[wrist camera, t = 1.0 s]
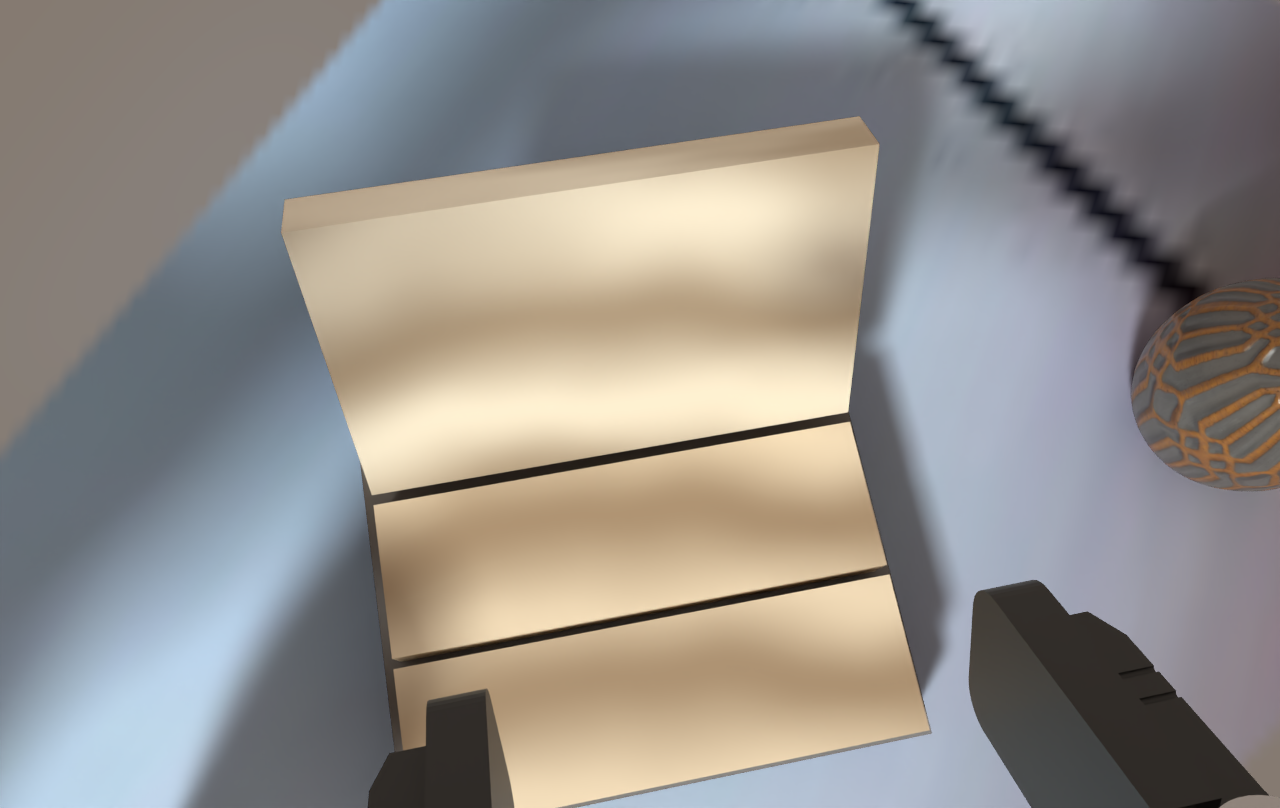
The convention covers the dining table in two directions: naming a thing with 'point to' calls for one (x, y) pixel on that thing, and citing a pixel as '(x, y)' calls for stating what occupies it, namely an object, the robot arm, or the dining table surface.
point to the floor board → (650, 611)
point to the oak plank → (590, 300)
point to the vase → (1216, 388)
